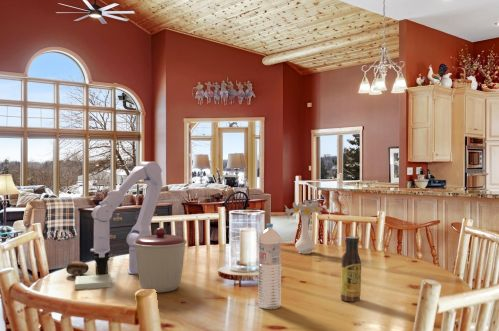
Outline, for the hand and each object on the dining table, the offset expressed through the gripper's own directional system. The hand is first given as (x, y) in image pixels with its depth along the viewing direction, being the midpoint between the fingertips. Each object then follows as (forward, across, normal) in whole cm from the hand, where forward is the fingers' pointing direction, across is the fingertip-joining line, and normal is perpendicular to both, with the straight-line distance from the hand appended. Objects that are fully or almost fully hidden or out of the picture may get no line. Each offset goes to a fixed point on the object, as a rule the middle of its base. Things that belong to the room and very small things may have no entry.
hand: (101, 273), depth 183 cm
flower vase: (+1, -22, +93) cm, 96 cm away
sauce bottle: (+2, +55, +75) cm, 93 cm away
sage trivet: (+2, +10, -3) cm, 10 cm away
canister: (+2, +24, +19) cm, 31 cm away
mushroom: (+2, -5, -9) cm, 10 cm away
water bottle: (+2, +54, +48) cm, 72 cm away
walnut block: (+2, 0, 0) cm, 2 cm away
